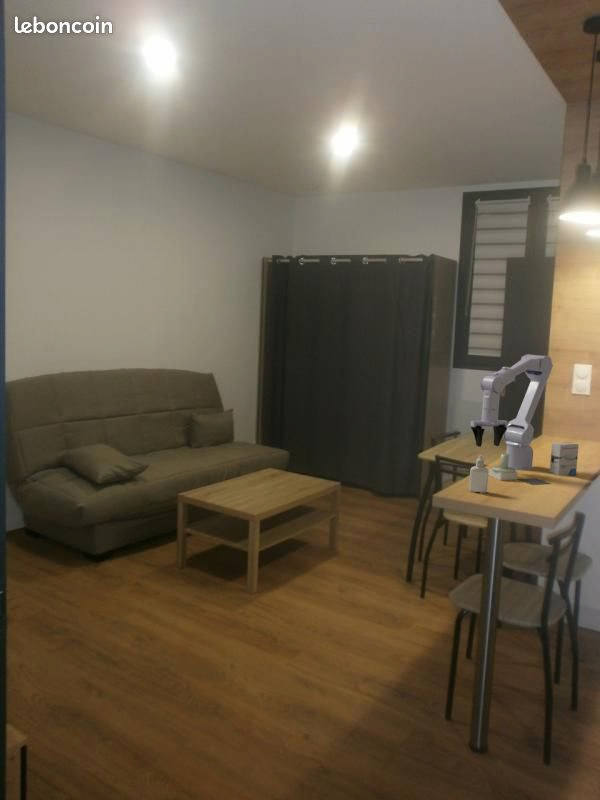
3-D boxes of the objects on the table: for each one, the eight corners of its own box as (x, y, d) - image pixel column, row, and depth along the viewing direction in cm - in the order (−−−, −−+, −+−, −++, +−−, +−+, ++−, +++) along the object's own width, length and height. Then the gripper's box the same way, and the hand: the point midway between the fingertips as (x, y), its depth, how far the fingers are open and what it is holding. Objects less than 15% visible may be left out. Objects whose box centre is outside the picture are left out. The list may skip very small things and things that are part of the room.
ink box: (566, 472, 248) (569, 441, 247) (576, 475, 244) (579, 444, 242) (548, 473, 245) (551, 442, 244) (558, 476, 241) (561, 444, 239)
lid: (505, 467, 238) (506, 451, 238) (520, 472, 231) (521, 456, 230) (487, 468, 235) (488, 452, 235) (502, 473, 228) (503, 457, 227)
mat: (536, 479, 235) (536, 478, 235) (551, 485, 228) (551, 483, 228) (517, 480, 232) (517, 479, 232) (532, 486, 225) (532, 485, 225)
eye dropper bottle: (483, 494, 211) (486, 457, 210) (466, 491, 215) (469, 455, 213) (488, 492, 215) (491, 455, 213) (472, 488, 218) (474, 453, 217)
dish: (504, 475, 238) (505, 467, 238) (517, 480, 232) (517, 472, 231) (488, 476, 236) (488, 468, 236) (500, 481, 229) (501, 473, 229)
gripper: (479, 410, 233) (476, 448, 235) (514, 410, 238) (511, 447, 240) (468, 408, 240) (465, 444, 242) (502, 407, 245) (499, 443, 247)
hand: (487, 445), depth 241 cm, fingers open, 7 cm apart
